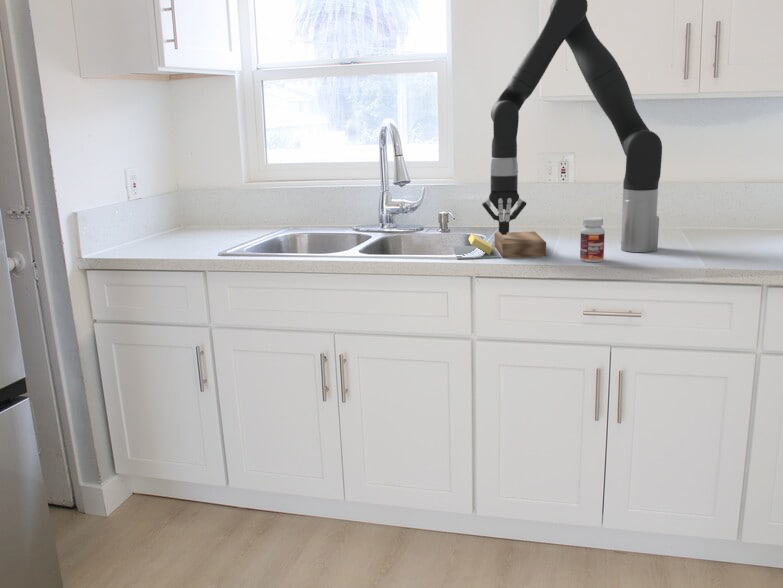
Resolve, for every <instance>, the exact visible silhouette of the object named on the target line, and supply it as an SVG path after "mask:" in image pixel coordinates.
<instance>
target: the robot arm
mask: <svg viewBox="0 0 783 588" xmlns="http://www.w3.org/2000/svg"><path fill="white" fill-rule="evenodd" d="M587 12H588V0H553V1H552V2H551V5H550V8H549V15H548V18H547V20H546V23H545V25H544V26H543V28H542V30H541V32H540V34H539V35H538V37H537V39H536V40H535V42H534V43H533V44H532V45H531V47H530V48H529V50H528V51H527V53H526V54H525V56H524V57H523V59H522V60H521V62H520V63H519V65H518V66H517V68H516V70H514V72H513V74H512V76H511V78H510V79H509V82H508V84H507V86H506V87H505V88H504V90H503V91H502V92H501V94H500V95H499V96H498V98H497V99H496V101H495V103H494V104H493V106H492V108H491V110H490V117H491V120H492V123H493V125H492V126H493V129H492V130H493V137H492V139H491V162H490V192H489V195H488V199H486V200H485V201H483V202H482V203H481V206H482V207H483V208H484V210H486V212H487V213H488V214H489V216H490V218H492V220H493V221H497V222H498V233H501V235H507V233H508V232H510V222H511V221H513V220H516V219H517V217H519V215H520V213H521V212H522V211H523V209H524V208H525V207H526V206H527V202H526V201H525V200H522V199H521V198H520V195H519V193H518V184H519V183H518V182H519V181H518V173H519V170H518V169H519V168H518V164H519V163H518V142H517V141H518V129H519V119H520V117H519V116H520V115H519V113H520V112H519V111H520V110H521V108H522V106H523V104H524V103H525V102H526V100H527V99H528V98H529V97H530V96H532V94H533V92H534V91H535V89H536V87H537V86H538V84H539V83H540V81H541V80H542V78H543V76H544V74H545V73H546V71H547V69H548V67H549V65H550V64H551V61H552V60H553V58H554V57H555V56H556V53H557V51H558V50H559V49H560V47H561V46H562V44H563V43H564V41H565V42H566V44H567V45H568V47H569V49H570V50H571V52H572V54H573V57H574V59H575V61H576V63H577V66H578V68H579V70H580V72H581V74H582V76H583V78H584V80H585V82H586V84H587V86H588V87H589V90H590V92H591V93H592V95H593V97H594V98H595V100H596V101H597V103H598V105H599V106H600V108H601V110H602V111H603V112H604V114H605V116H606V117H607V118H608V119H609V121H610V122H611V125H612V126H613V128H614V130H615V133H616V136H617V137H618V140H619V142H620V146H621V147H622V151H623V153H624V155H625V173H624V178H623V183H622V184H623V185H622V187H623V189H622V213H621V214H622V215H621V235H620V236H621V240H620V249H621V251H624V252H630V253H632V252H633V253H651V252H653V251H655V252H656V251H659V250H658V248H659V247H658V244H659V231H660V230H659V227H660V226H659V225H660V217H659V216H658V197H659V196H658V195H659V183H660V178H661V173H662V172H661V171H662V161H663V160H662V159H663V144H662V140H661V138H660V137H659V135H658V134H657V133H656V132H654V131H651V130H650V129H649V128H648V126H647V125H646V124H645V123H646V122H644V120H643V118H642V117H641V116H640V114H639V112H638V110H637V107H636V106H635V102H634V100H633V99H634V98H633V95H632V92H631V89H630V85H629V84H628V81H627V79H626V77H625V75H624V73H623V70H622V69H621V67H620V66H619V63H618V62H617V61H616V58H614V56H613V54H612V53H611V52H610V51H609V50H608V49H607V47H606V45H604V44H603V42H602V41H600V39H599V38H598V37H597V35H596V33H595V31H594V30H593V28H592V26H591V23H590V22H589V19H588V16H587ZM491 204H492V205H493V207H494V208H495V209H497V211H496V212H497V214H495V211H493V210H492V209H491V207H492V205H491ZM515 205H516V208H515V209H514V210H513V211H512V212H511V210H512V209H513V208H514V206H515Z"/></svg>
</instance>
